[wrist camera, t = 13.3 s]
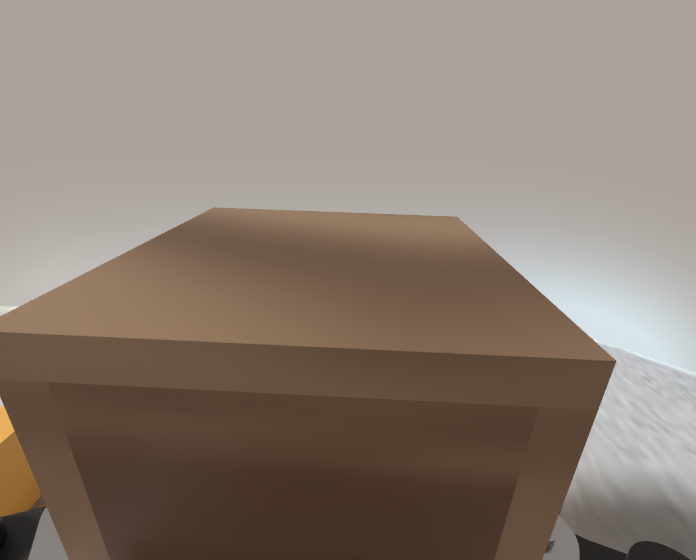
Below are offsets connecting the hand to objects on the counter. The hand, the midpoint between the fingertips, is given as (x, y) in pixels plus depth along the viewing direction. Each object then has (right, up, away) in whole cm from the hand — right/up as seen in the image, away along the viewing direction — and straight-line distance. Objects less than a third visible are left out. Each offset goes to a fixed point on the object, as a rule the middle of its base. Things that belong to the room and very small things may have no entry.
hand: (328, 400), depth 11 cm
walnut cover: (0, -7, 0) cm, 7 cm away
